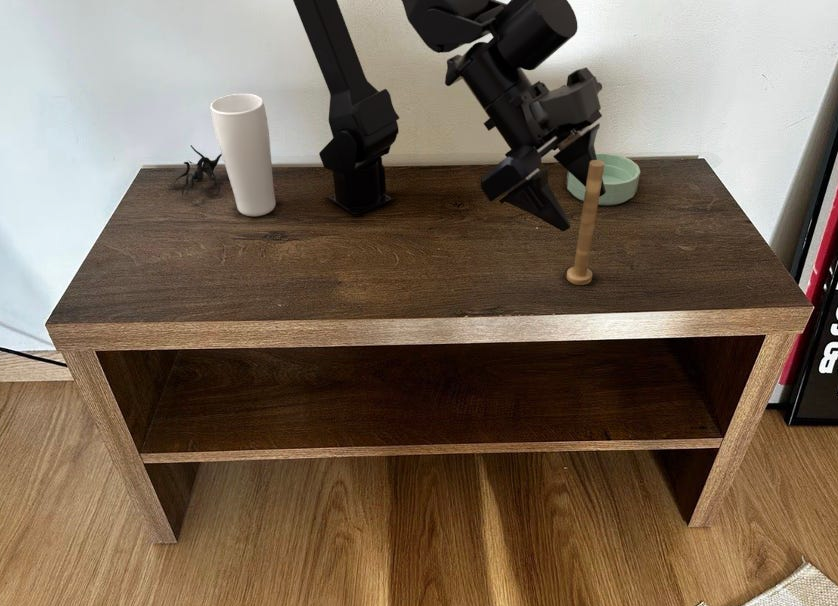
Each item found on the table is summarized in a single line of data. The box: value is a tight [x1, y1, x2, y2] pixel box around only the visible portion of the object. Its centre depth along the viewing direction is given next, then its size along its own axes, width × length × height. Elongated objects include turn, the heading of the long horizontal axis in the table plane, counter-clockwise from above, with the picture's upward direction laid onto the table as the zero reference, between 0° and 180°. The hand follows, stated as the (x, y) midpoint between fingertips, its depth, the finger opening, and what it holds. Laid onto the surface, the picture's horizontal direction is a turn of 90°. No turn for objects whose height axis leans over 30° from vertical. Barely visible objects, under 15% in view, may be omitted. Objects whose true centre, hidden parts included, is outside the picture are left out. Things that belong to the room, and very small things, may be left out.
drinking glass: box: [209, 93, 277, 218], centre depth 93 cm, size 7×7×15 cm
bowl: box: [566, 152, 641, 206], centre depth 100 cm, size 10×10×4 cm
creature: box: [173, 144, 222, 198], centre depth 101 cm, size 8×5×8 cm
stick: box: [566, 160, 605, 286], centre depth 80 cm, size 3×3×15 cm
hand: (585, 211), depth 79 cm, fingers open, 9 cm apart
